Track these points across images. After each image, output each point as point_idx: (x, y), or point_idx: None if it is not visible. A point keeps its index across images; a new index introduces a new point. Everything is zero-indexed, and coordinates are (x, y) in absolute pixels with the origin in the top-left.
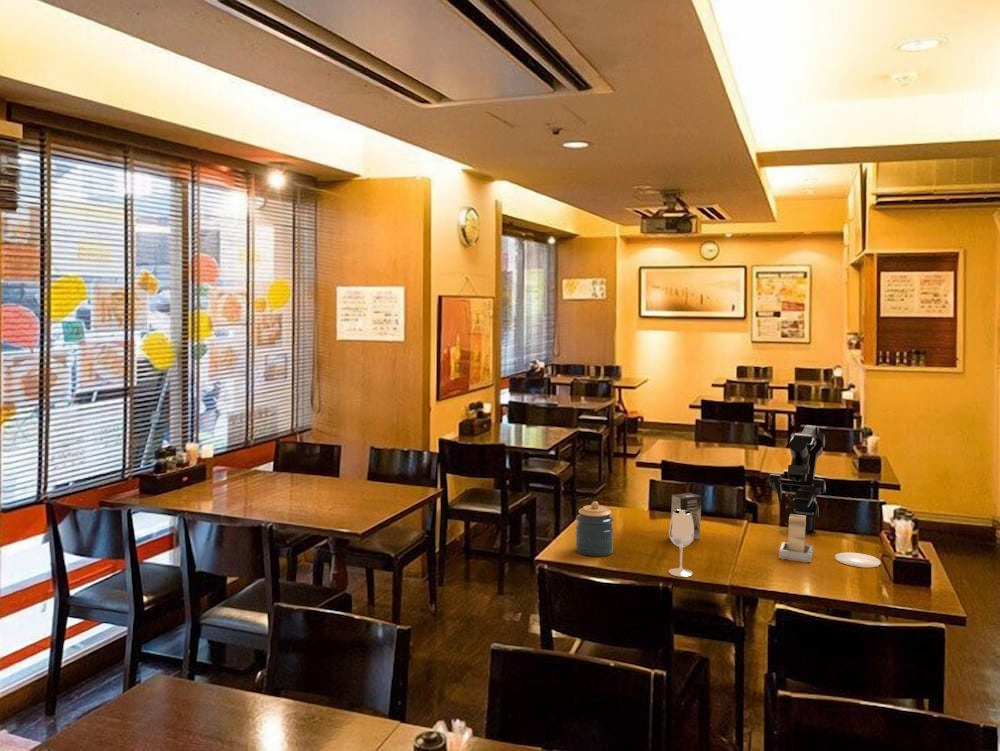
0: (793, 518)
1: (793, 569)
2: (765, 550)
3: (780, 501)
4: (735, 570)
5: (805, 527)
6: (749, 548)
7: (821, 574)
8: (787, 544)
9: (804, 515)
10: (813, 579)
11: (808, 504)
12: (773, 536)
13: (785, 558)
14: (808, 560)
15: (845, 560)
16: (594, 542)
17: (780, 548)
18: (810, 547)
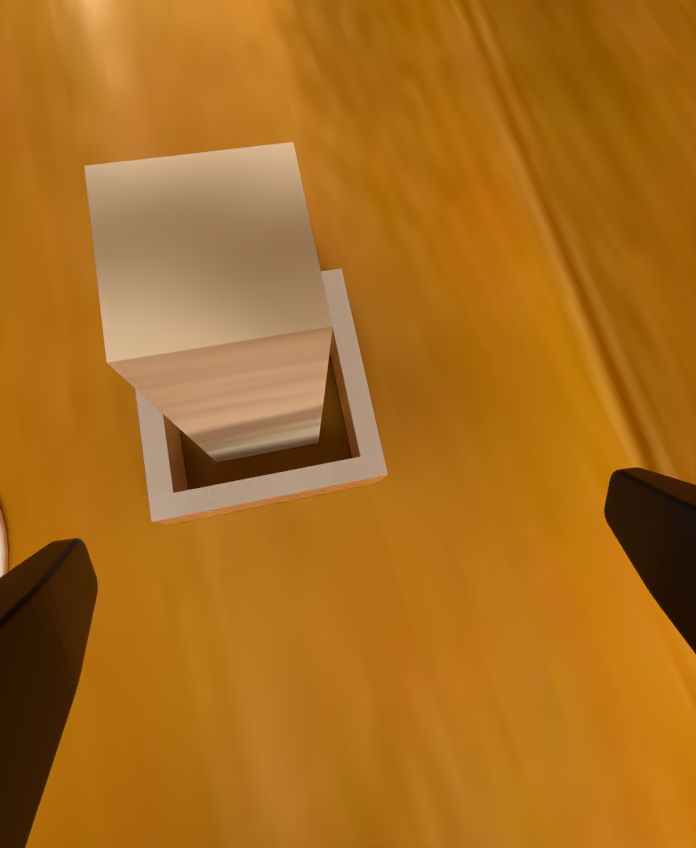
0: (236, 153)
1: None
2: (466, 415)
3: (631, 498)
4: (454, 7)
5: (159, 407)
6: (562, 395)
7: (45, 165)
8: (341, 461)
9: (128, 354)
10: (73, 70)
11: (30, 560)
12: (561, 827)
13: None
14: None
15: None
16: None
17: (345, 308)
18: (161, 466)
